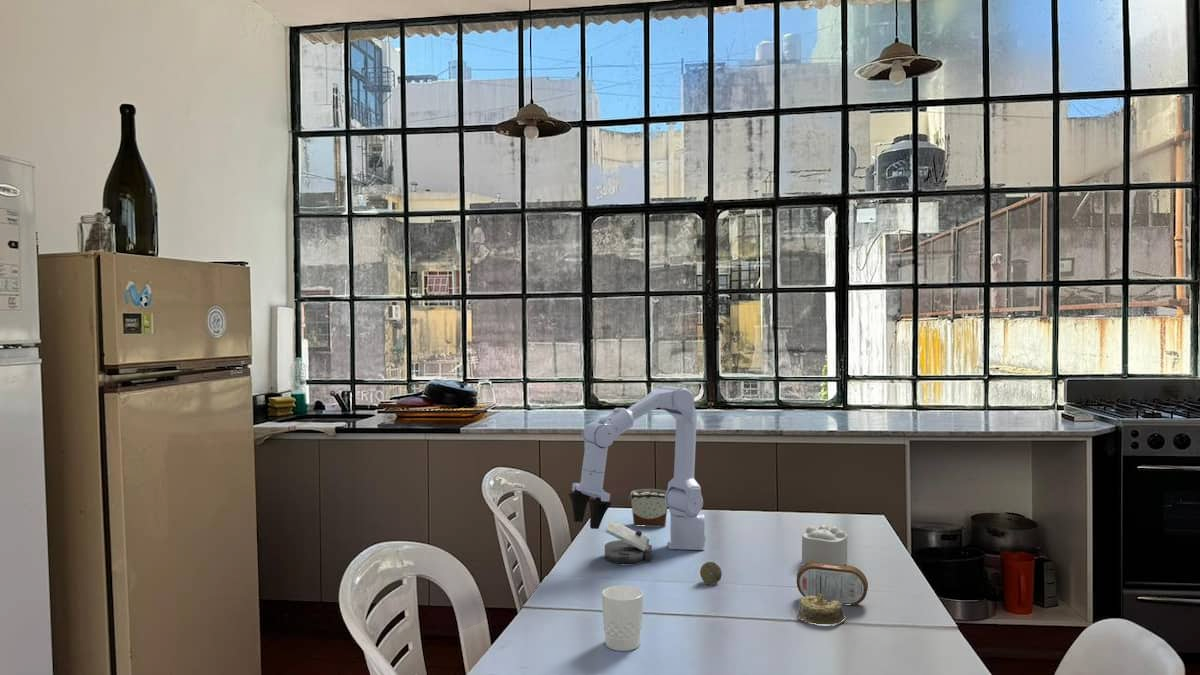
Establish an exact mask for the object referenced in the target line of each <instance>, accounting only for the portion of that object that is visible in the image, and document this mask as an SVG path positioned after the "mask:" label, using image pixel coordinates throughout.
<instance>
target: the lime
mask: <svg viewBox="0 0 1200 675" xmlns="http://www.w3.org/2000/svg"><path fill="white" fill-rule="evenodd" d="M699 574H700V577H701V579H702V581H703V582H704V583H705V584H706V585H708V586H712V585H717V583H719V582H720V581H721V579H722V575H723V574H722V568H721V567H720V566H719V565H718V564H717V563H715V562H714V561H706V562H705V563H704V564H702V566H701V567H700V571H699Z"/></svg>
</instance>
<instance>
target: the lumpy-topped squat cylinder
mask: <svg viewBox="0 0 1200 675" xmlns="http://www.w3.org/2000/svg"><path fill="white" fill-rule="evenodd" d="M809 562H821V563H830V564H839V565H845V564H846V563H847V564H848V534H847V533H846V532H845V531H844V530H841V529H839V527H838V526H831V527H829V526H828V525H826V524H820V525H819V527H815V526H812V525H809V526H808V527H806V529H805V531H804V533H803V534H802V535H801V564H802V563H803V564H806V563H809ZM803 564H802V565H803Z"/></svg>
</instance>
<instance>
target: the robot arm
mask: <svg viewBox="0 0 1200 675" xmlns="http://www.w3.org/2000/svg"><path fill="white" fill-rule="evenodd" d="M655 409H661V410H664V411H666V412H668V414H670V416H671V417H672V418H674V420H675V442H674V443H675V444H674V464H673V465H674V466H673V468H674V470H673V477H672V478H671V480H669V482H668V483H667V490H666V491H667V492H666V494H665V503H666V505H667V508H668V512H669V513H670V516H669V517H670V518H669V519H670V527H669V528H670V533H669V534H670V537H669V538H670V539H669V540H668V549H669V550H686V551H688V550H689V551H690V550H691V551H704V550H705V542H706V534H705V514H704V513H700V512H701V511H702V509H703V505H704V499H703V496H702V492H701V491H702V488H701V485H700V484H699V483H698V481H697V480H696V479H695V466H696V465H695V463H696V444H697V442H696V441H697V440H696V439H697V418H698V413H697V410H696V406H695V394H693V392H691V390H690V389H689V388H687V387H683V386H671V385H666V384H661V385H658V386H657V387H656V388H653V389H651V391H650V392H649V393H647V395H646V396H643V398H641V399H639V400H638V401H637V402H635V403H634V404H632V405H631V406H629V407H628V408H624V407H615V408H614V409H613V412H612V413H609V414H608V415H606V416H605V417H604V416H603V417H601V418H599V419H598V421H597V422H594V421H593V422H590V423H588V424H587V425H586V427H585V428H584V430H583V431H582V432H581V437H582V440H583V442H584V446H583V448H584V454H583V460H582V468H581V476H580V482H573V483H572V488H571V491H573V492H569V493H568V496H569V498H570V500H571V506H572V512H573V513H572V514H573V520H574V522H575V523H583V521H584V519H585V518H584V517H585V513H586V510H587V505H588V504H589V511H590V514H589V515H590V521H589V527H590V530H591V529H592V530H598V529H600V526H601V523H602V520H603V519H604V516H605V514H606V512H607V510H608V509H609V508H610V507H611V506H612V502H611V501H610V499H611V493H609V492H607V491H606V490H604V489H603V487H604V480H605V471H606V465H607V457H608V450H609V447H610V446H612V444H613V443H614V440H615V438H617V437H619V436H620V435H621V434H623V433H624V432H626V431H628V430H629V429H630V428H632V427H633V426H634V422H635V421H636V420H638V419H639V418H641V417H642V416H645V415H646V414H648V413H651V412H652V411H654V410H655ZM593 498H594V499H593Z"/></svg>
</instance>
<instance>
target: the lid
mask: <svg viewBox="0 0 1200 675" xmlns="http://www.w3.org/2000/svg"><path fill="white" fill-rule="evenodd" d="M605 533H606V534H608V535H611V536H613V537H614V538H616V539H618V540H622V541H624V542H626V543H629V544H631V545H633V546H635V547H637V548H639V549H641V550H643V551H645V550H646V551H648V549H649V545H650V539H649V538H648V536H646V535H643V532H642V531H640V530H638V529H637V530H636V531H635V530H634V529H632V528H629V527H627V526H625V525H623V524H621V523H619V522H617V521H615V520H613V519H610V520H609V522H608V526H607V528H606V530H605Z"/></svg>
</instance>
